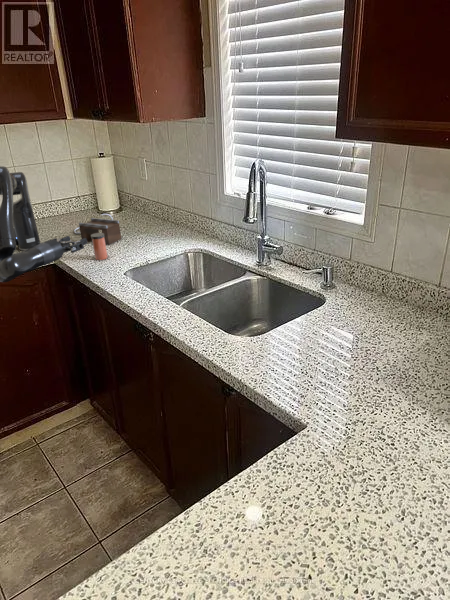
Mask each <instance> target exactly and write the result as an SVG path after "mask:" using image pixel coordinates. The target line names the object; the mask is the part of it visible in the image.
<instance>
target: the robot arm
mask: <svg viewBox="0 0 450 600" xmlns="http://www.w3.org/2000/svg"><path fill="white" fill-rule="evenodd" d="M18 195H20V198H18V200H15V201H14V196H18ZM0 196H2V197H1V204H0V283H9V282H10V281H12V280H14V279H16V278H18V277H20V276H21V275H23V274H25V273H27V272H31V271H33V270H36V269H38V268H41V267H43V266H47V265H48V264H51V263H53V262H56V261H58V260H60V259H62V258H63V257H64V253H68V252H70V253H71V254H73V253H76V252H78V251H81V250H84V249H85V247H84V246H85V245H87V244H88V242H87V238H83V239H82V238H81V239H78V240H75V241H74V240H73V239H72V240H71V236H70V235H66V236H64V237H62V238H60V237H59V238H56V237H54V238H52V239H48V240H46V241H44V242H41V240H40V235H39V230H38V226H37V222H36V219H35V218H36V217H35V214H34V209H33V206H32V201H31V198H30V192H29V186H28V181H27V178H26V175H25V173H24V172H22V171H15V172H10V170H9V168H7V167H6V166H3V165H0ZM16 249H19V250H20V251H21V252H17V253H15V251H16Z"/></svg>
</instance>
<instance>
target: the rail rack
mask: <svg viewBox="0 0 450 600" xmlns="http://www.w3.org/2000/svg"><path fill="white" fill-rule="evenodd" d="M78 227H79V228H80V229H79V232H80V233H81V234H80V237H81V239H83V238H87V243H88V242H89V241H92V238H91V235H92V234H95V233H100V231H101V233H104V235H105V237H104V238H105V244H106V245H108V246H109V245H111V244H113V243H115V242H118V241H120V240H122V233H121V232H122V231H121V226H120V220H116V219H113V220H112V219H108V218H107V219H106V218H96V217H91V218H90V221H87V222H78Z"/></svg>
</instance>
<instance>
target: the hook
mask: <svg viewBox="0 0 450 600" xmlns="http://www.w3.org/2000/svg"><path fill="white" fill-rule="evenodd" d="M101 216H108V217H109V218H110V220H114V218H113V216H112V215H111V214H109V213H102V214H101ZM77 230H80V228H79V226H78V227H76V228H75V229H73V232H74V235H75V234H76V235H81V233H80V231H78V232H77Z"/></svg>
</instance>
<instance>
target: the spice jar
mask: <svg viewBox="0 0 450 600" xmlns="http://www.w3.org/2000/svg"><path fill="white" fill-rule="evenodd" d="M104 237H105V235H104V233H102V232H99V233H95V234H92V235H91V238H92V240H91V242H92V248H93V253H94V259H95V260H96V261H103V260H106V259H108V250H107V244H105V238H104Z"/></svg>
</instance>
